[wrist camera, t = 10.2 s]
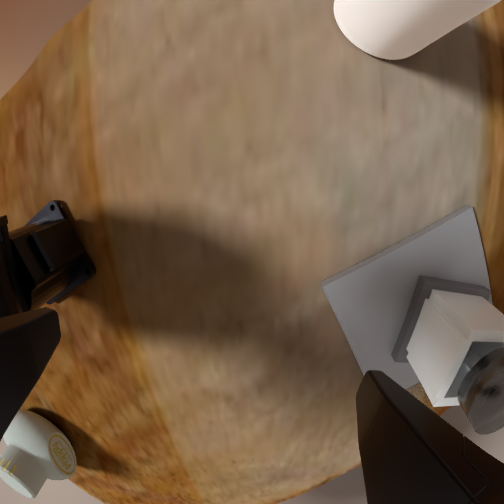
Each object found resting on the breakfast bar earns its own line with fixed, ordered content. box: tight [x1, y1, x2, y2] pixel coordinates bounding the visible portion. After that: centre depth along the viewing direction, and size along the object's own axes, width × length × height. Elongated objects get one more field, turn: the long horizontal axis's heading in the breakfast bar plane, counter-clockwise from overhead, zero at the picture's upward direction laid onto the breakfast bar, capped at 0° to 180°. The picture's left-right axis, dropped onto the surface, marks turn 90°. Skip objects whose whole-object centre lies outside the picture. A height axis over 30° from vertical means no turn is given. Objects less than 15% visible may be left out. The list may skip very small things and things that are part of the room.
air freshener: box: [0, 409, 77, 498], centre depth 25 cm, size 11×8×10 cm
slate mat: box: [320, 205, 493, 389], centre depth 21 cm, size 12×12×1 cm
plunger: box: [457, 346, 504, 434], centre depth 15 cm, size 4×4×8 cm
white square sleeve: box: [391, 275, 504, 407], centre depth 17 cm, size 8×6×6 cm
